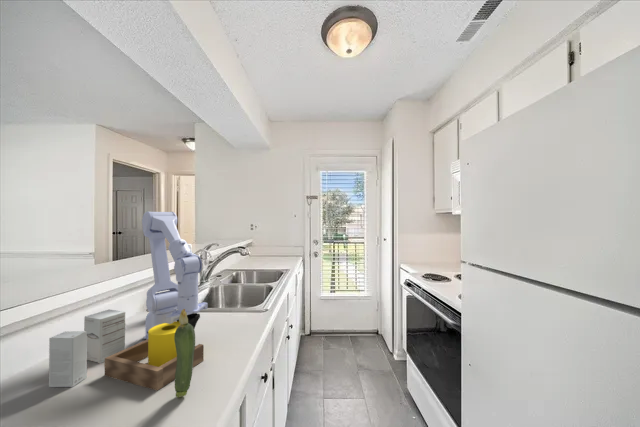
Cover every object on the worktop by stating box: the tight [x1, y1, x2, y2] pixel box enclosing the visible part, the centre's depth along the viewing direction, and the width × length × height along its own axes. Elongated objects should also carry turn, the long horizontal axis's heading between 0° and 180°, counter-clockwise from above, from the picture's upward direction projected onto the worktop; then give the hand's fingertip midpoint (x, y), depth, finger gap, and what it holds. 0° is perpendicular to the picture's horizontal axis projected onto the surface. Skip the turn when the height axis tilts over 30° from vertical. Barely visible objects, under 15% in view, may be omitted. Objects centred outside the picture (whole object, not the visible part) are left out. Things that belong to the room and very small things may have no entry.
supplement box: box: [83, 309, 126, 364], centre depth 81 cm, size 7×7×13 cm
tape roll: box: [147, 321, 181, 367], centre depth 77 cm, size 10×10×9 cm
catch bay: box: [104, 339, 205, 391], centre depth 74 cm, size 19×14×4 cm
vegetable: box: [174, 309, 196, 399], centre depth 62 cm, size 4×4×20 cm
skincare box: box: [48, 330, 88, 388], centre depth 68 cm, size 6×4×12 cm
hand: (188, 338), depth 84 cm, fingers closed
